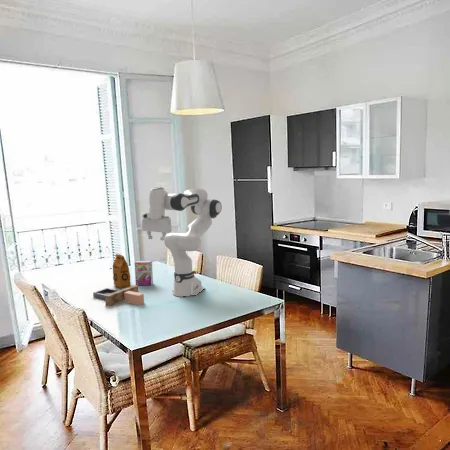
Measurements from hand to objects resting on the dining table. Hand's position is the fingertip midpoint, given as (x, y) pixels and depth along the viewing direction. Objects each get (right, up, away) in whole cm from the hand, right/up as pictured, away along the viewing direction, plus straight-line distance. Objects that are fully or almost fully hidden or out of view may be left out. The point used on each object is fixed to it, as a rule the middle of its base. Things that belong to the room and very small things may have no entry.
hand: (156, 239), depth 223 cm
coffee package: (-31, -34, +44) cm, 64 cm away
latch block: (-15, -38, +10) cm, 42 cm away
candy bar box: (-16, -33, +46) cm, 59 cm away
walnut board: (-23, -38, +15) cm, 47 cm away
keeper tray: (-33, -37, +22) cm, 54 cm away
